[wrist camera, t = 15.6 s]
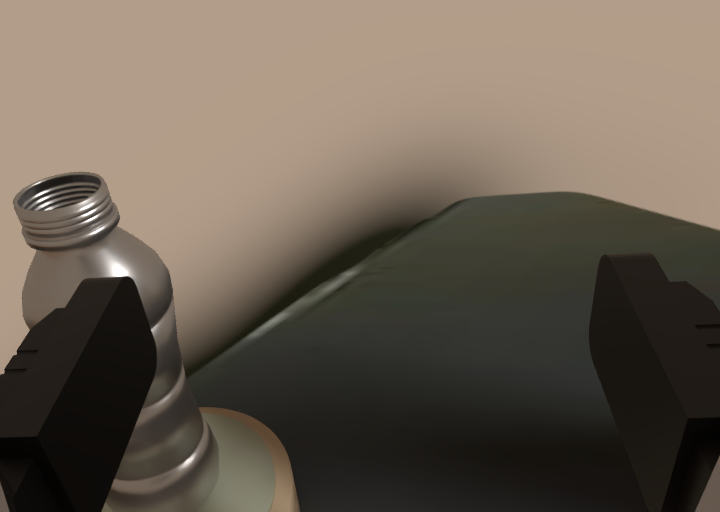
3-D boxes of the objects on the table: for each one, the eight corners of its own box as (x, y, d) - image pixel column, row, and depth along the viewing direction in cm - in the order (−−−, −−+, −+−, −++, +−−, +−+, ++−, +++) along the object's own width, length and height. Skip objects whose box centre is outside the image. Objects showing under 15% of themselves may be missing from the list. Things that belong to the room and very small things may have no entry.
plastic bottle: (111, 466, 41) (-14, 174, 30) (222, 437, 42) (140, 146, 31) (109, 559, 36) (-45, 247, 25) (234, 522, 37) (142, 210, 26)
